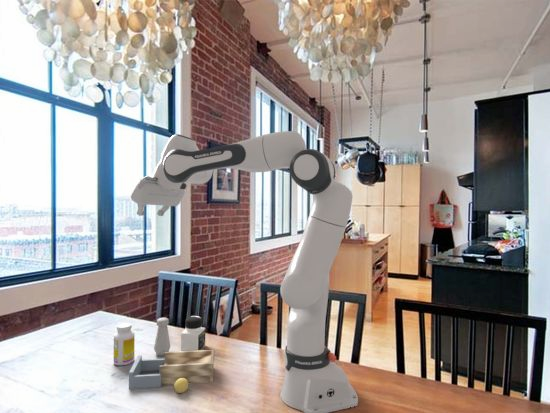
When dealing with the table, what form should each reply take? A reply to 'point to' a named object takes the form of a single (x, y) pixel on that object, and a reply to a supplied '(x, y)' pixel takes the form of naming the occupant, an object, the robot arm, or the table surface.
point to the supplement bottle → (124, 344)
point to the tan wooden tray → (187, 366)
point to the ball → (181, 385)
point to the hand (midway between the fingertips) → (150, 215)
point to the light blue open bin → (145, 373)
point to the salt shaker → (162, 337)
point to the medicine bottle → (193, 335)
